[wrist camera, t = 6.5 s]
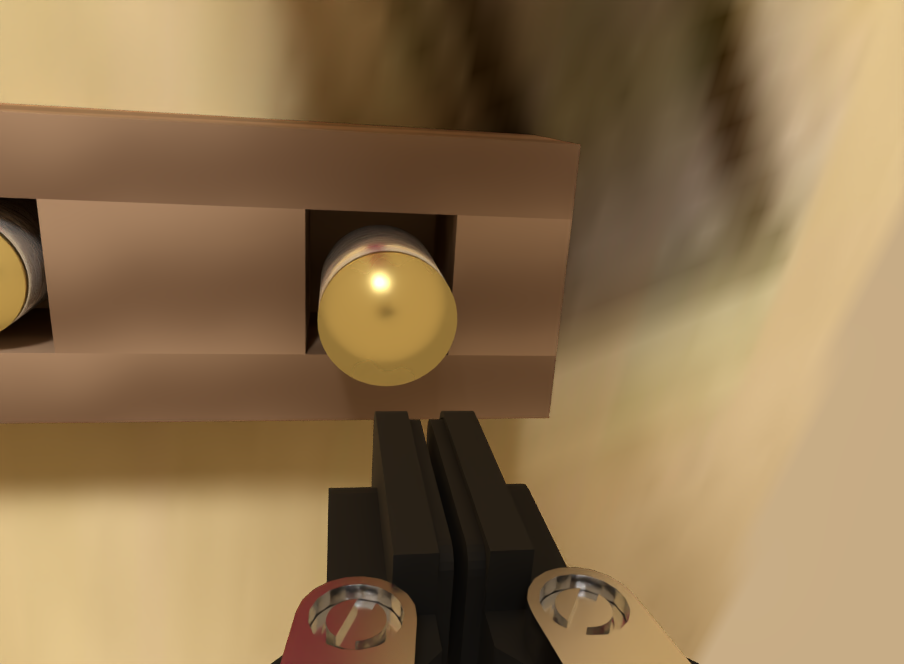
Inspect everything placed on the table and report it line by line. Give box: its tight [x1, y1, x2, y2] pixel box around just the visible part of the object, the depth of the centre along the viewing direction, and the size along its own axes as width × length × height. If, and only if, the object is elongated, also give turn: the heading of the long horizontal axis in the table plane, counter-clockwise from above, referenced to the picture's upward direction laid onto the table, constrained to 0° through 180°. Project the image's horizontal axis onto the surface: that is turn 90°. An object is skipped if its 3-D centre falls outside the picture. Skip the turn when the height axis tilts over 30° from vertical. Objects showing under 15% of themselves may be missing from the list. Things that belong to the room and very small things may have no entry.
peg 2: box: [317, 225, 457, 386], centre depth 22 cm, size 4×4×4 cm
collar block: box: [0, 103, 581, 423], centre depth 26 cm, size 10×26×6 cm, turn 86°
